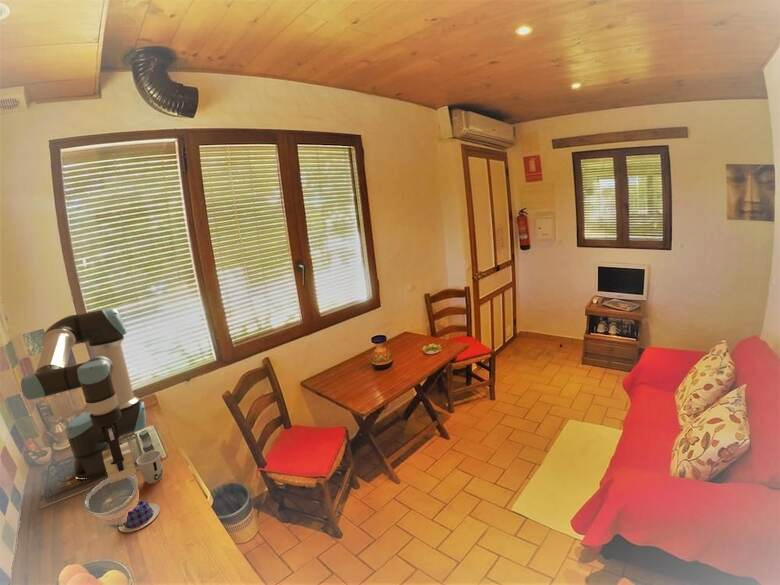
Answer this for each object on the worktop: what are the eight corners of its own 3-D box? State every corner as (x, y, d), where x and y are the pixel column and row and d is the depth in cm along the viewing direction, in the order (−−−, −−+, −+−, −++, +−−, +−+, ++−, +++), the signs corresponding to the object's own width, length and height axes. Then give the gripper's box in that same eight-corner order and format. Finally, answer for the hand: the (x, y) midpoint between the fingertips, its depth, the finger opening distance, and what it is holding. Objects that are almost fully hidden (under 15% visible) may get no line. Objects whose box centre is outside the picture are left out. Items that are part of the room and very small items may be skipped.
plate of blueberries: (156, 499, 136) (152, 487, 135) (163, 518, 128) (160, 505, 126) (116, 519, 129) (112, 506, 128) (121, 540, 120) (117, 527, 119)
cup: (158, 486, 143) (152, 463, 141) (137, 487, 143) (131, 464, 141) (170, 471, 151) (165, 449, 148) (150, 472, 151) (145, 450, 149)
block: (108, 473, 123) (102, 452, 121) (133, 462, 128) (127, 442, 126) (110, 483, 118) (103, 462, 116) (136, 472, 122) (130, 451, 121)
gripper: (87, 403, 122) (105, 463, 128) (91, 427, 108) (111, 494, 113) (115, 394, 127) (131, 453, 133) (122, 416, 112) (140, 481, 118)
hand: (122, 472), depth 123 cm, fingers closed on block, 7 cm apart
